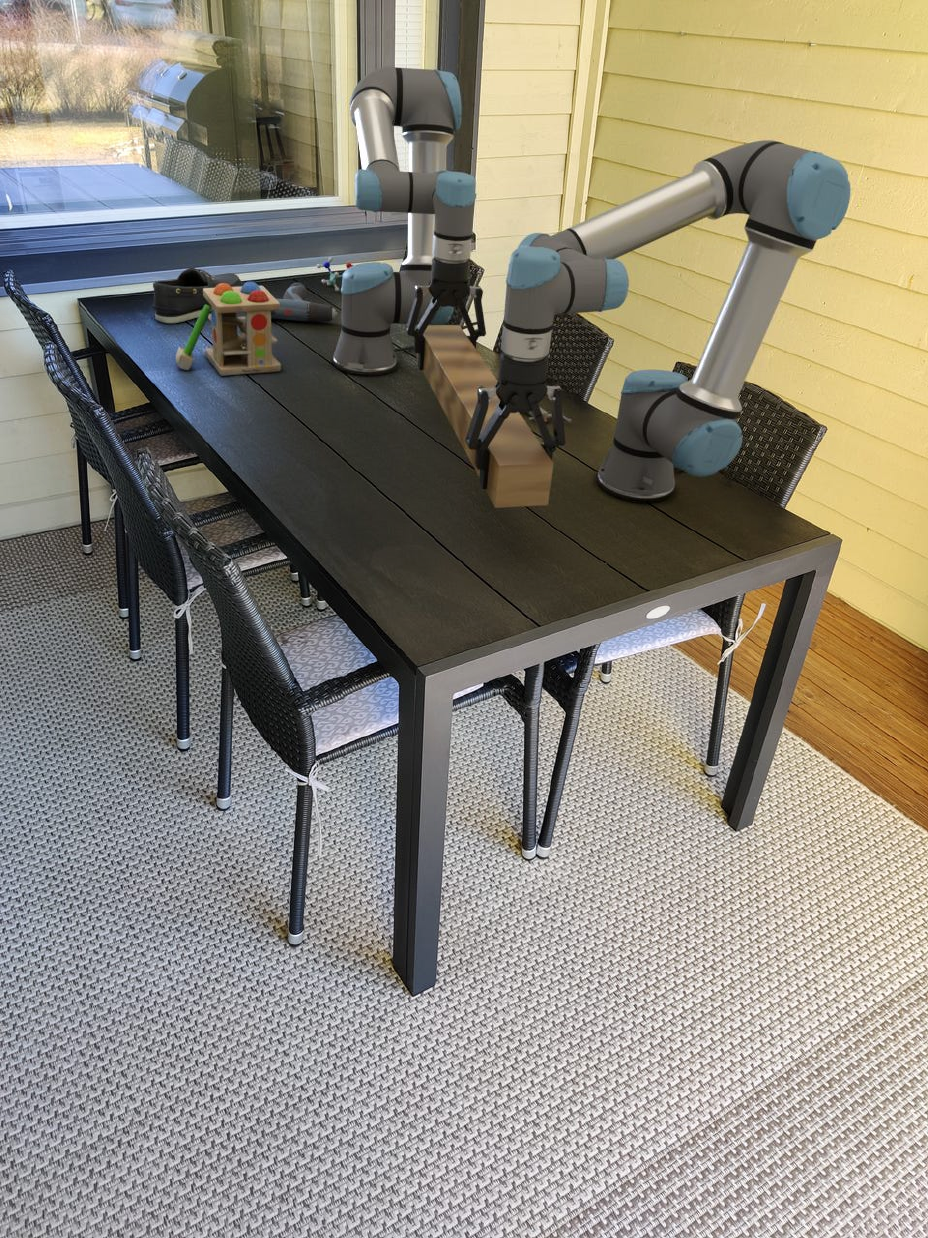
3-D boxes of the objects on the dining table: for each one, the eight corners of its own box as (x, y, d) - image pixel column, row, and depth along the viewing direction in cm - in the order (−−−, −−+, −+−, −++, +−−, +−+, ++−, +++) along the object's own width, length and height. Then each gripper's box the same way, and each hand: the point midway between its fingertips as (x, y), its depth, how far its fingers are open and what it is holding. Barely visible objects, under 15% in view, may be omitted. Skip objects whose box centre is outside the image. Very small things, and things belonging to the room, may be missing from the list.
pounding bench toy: (183, 379, 220) (176, 299, 210) (169, 357, 231) (162, 280, 221) (282, 371, 230) (280, 294, 220) (264, 350, 240) (262, 276, 230)
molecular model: (349, 283, 280) (337, 248, 279) (321, 295, 284) (310, 261, 283) (366, 286, 291) (354, 252, 289) (339, 298, 294) (328, 265, 293)
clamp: (499, 396, 222) (536, 391, 226) (498, 406, 223) (534, 400, 228) (535, 422, 211) (573, 416, 216) (534, 432, 213) (571, 425, 217)
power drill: (344, 304, 276) (335, 327, 259) (277, 298, 275) (264, 321, 258) (344, 285, 273) (335, 306, 256) (277, 279, 272) (264, 300, 255)
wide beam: (416, 359, 211) (417, 325, 207) (457, 359, 213) (459, 324, 209) (495, 507, 158) (499, 465, 154) (548, 505, 160) (553, 463, 156)
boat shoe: (261, 302, 273) (259, 263, 267) (172, 325, 249) (168, 283, 243) (227, 293, 278) (225, 255, 273) (137, 316, 254) (132, 274, 249)
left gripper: (399, 262, 189) (394, 374, 202) (509, 265, 193) (497, 374, 206) (393, 251, 195) (389, 360, 208) (500, 254, 199) (489, 361, 212)
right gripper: (461, 363, 146) (452, 497, 159) (599, 361, 151) (579, 491, 164) (450, 346, 152) (443, 476, 165) (583, 344, 157) (565, 471, 170)
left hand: (443, 367), depth 207 cm, fingers closed on wide beam, 9 cm apart
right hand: (511, 484), depth 164 cm, fingers closed on wide beam, 9 cm apart
